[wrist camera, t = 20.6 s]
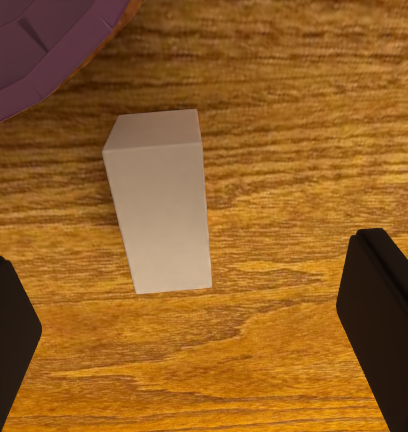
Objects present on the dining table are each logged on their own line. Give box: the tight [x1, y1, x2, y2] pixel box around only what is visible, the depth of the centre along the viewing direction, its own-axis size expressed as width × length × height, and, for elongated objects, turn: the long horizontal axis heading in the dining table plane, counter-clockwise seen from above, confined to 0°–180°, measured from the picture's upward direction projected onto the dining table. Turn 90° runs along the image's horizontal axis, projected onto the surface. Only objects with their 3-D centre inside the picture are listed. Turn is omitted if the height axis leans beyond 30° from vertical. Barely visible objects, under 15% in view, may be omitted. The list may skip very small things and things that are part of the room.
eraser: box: [102, 109, 212, 294], centre depth 13 cm, size 6×3×4 cm, turn 4°
